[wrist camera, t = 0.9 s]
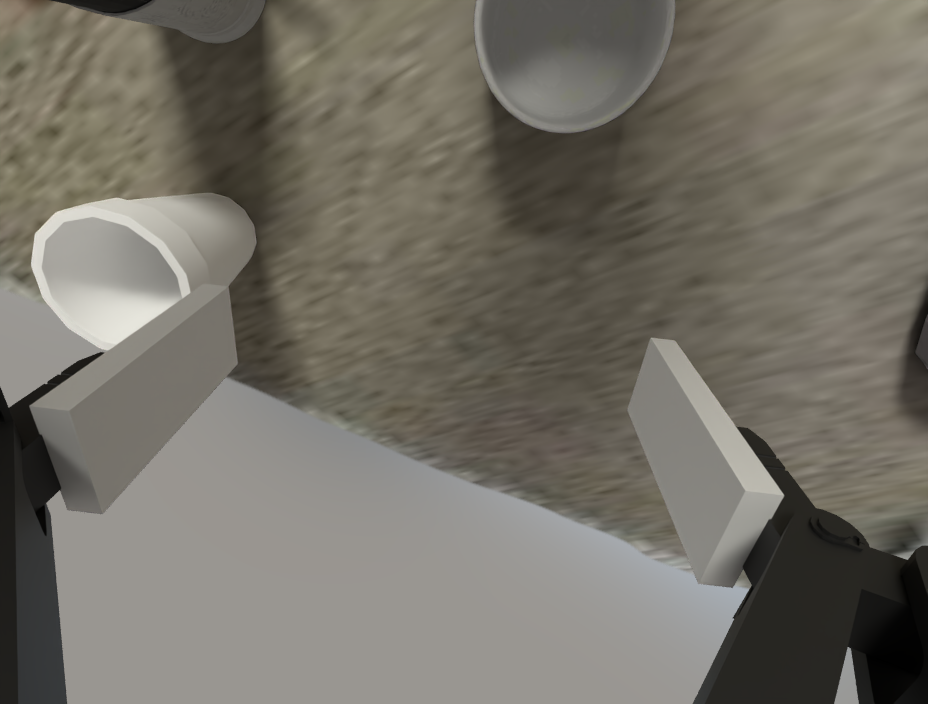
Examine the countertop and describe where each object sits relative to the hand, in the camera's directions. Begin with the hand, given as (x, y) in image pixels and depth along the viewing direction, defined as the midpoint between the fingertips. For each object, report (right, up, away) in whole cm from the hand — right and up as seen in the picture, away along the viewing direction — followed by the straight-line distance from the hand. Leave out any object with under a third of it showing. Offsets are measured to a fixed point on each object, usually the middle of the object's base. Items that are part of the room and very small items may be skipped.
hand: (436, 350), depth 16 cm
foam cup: (-19, +10, +26) cm, 34 cm away
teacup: (+9, +22, +18) cm, 30 cm away
